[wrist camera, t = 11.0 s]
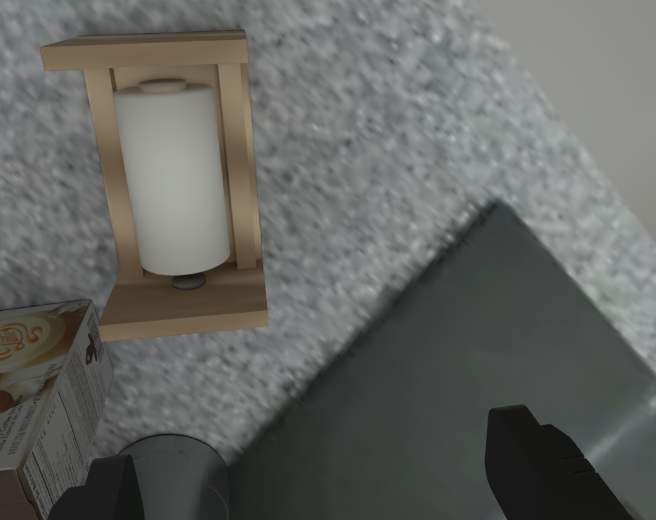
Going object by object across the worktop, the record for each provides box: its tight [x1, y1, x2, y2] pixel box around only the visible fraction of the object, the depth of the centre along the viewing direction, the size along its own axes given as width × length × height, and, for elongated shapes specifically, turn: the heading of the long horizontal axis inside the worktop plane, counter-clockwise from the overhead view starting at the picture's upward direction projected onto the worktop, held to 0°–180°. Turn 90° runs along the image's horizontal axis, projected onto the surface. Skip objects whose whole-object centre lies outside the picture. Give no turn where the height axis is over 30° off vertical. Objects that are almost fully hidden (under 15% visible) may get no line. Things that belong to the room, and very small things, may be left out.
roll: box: [112, 79, 230, 275], centre depth 34 cm, size 10×5×5 cm, turn 1°
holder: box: [40, 30, 269, 342], centre depth 34 cm, size 15×9×8 cm, turn 1°
